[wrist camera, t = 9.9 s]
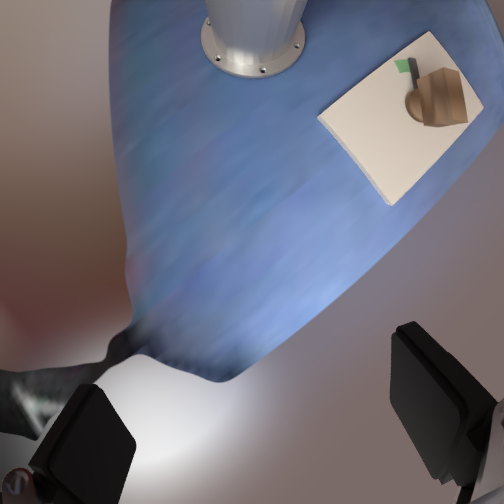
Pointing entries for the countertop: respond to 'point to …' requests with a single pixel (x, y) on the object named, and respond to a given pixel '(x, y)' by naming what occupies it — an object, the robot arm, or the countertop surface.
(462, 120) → the brown piece
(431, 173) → the countertop surface
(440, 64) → the white rectangular slab
